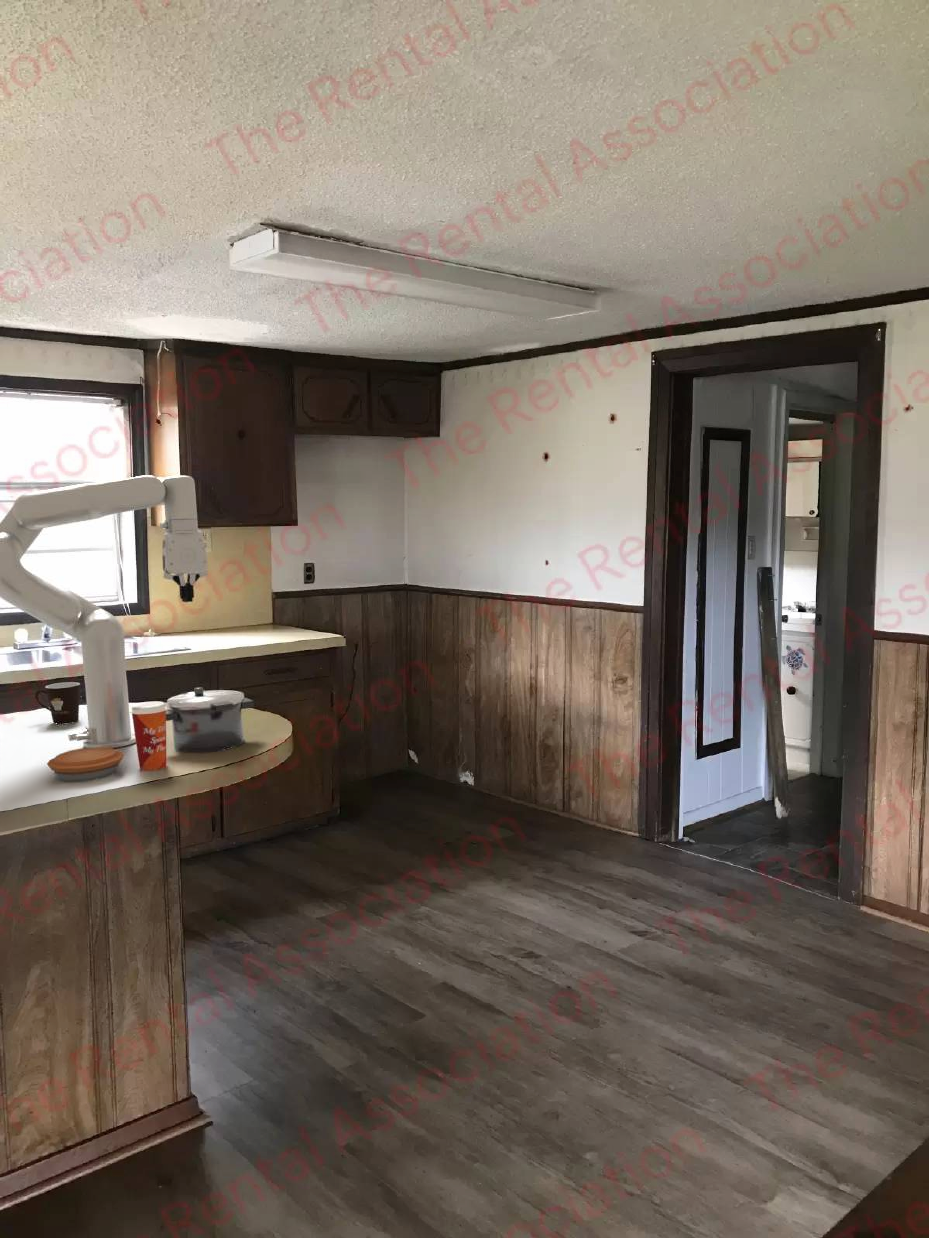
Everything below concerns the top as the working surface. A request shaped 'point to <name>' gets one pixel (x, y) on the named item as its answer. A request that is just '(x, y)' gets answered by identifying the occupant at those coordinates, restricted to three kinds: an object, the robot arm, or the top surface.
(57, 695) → the coffee mug
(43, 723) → the top surface
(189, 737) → the cooker pot
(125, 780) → the top surface
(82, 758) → the pie
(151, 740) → the paper cup
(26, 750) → the top surface
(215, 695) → the cooker lid
